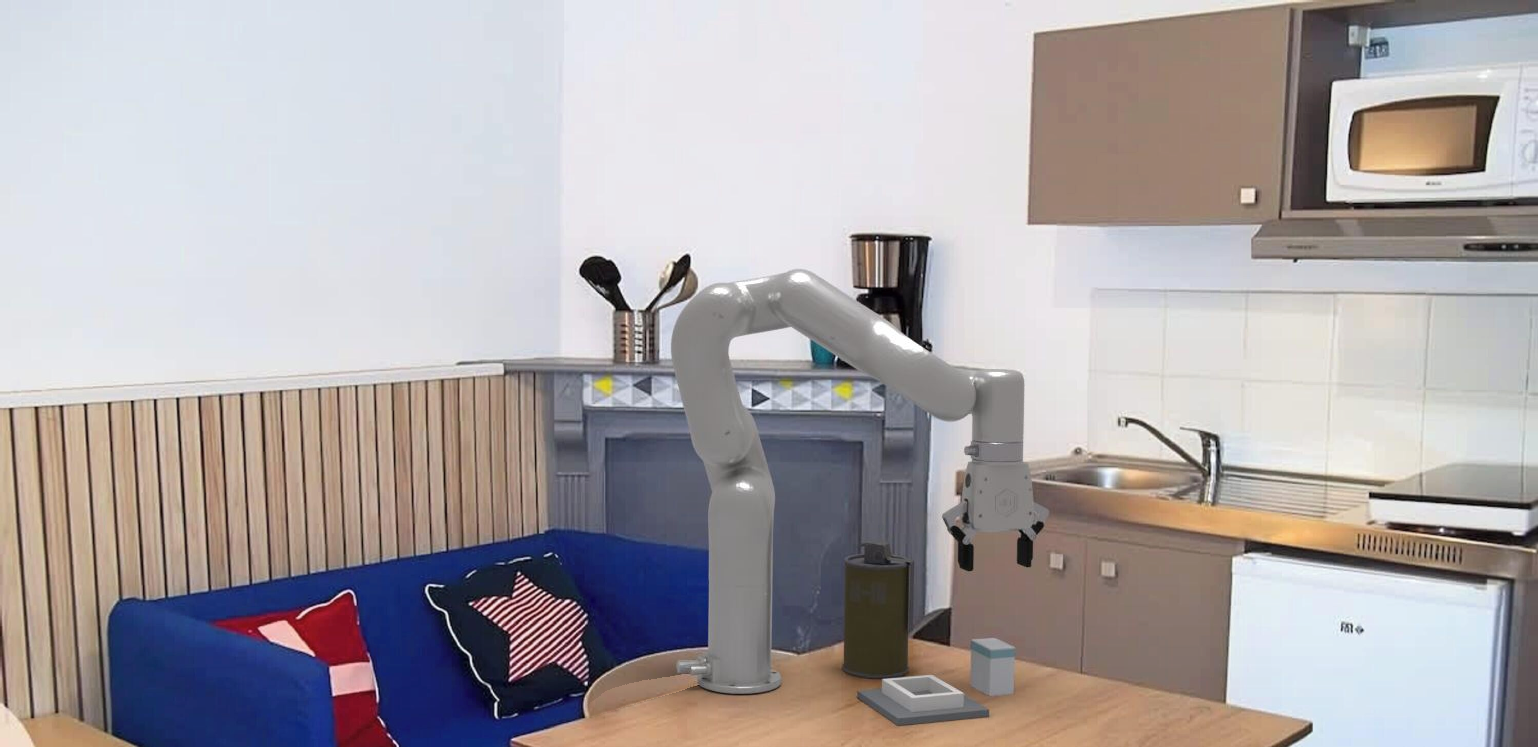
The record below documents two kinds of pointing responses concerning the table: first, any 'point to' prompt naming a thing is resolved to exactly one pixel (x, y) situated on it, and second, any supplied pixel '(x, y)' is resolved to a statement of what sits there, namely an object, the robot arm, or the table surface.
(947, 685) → the grey square socket base
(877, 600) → the canister
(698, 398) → the robot arm
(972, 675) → the plug
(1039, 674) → the table surface
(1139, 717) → the table surface
